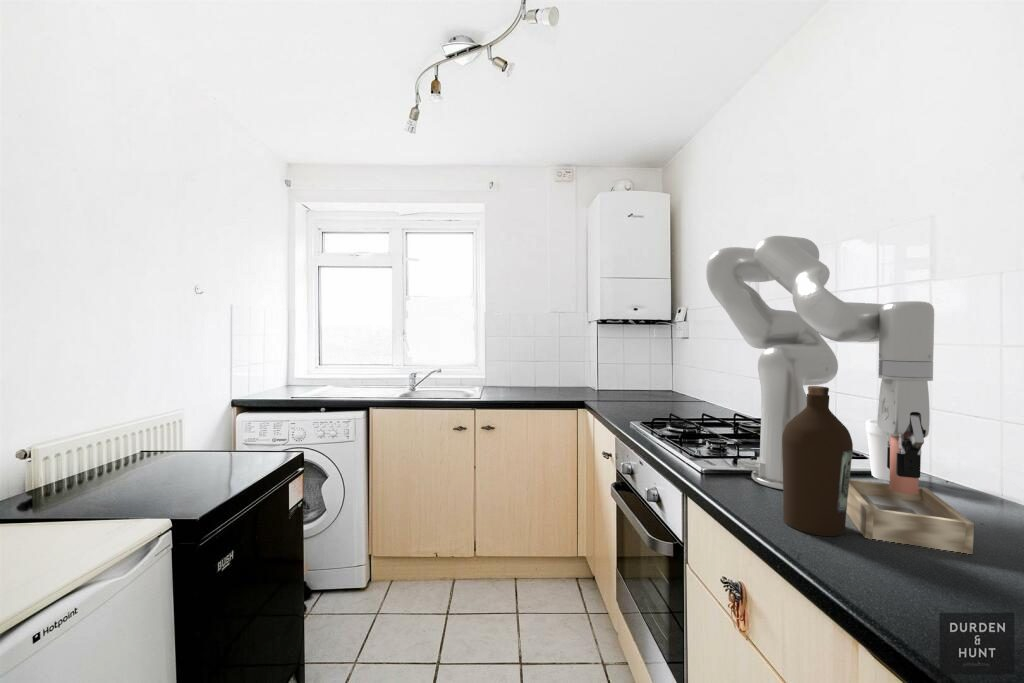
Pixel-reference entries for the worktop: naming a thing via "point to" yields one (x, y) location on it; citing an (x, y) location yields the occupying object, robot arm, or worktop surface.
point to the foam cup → (877, 450)
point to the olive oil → (816, 468)
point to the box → (908, 517)
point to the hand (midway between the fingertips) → (903, 472)
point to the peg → (896, 482)
